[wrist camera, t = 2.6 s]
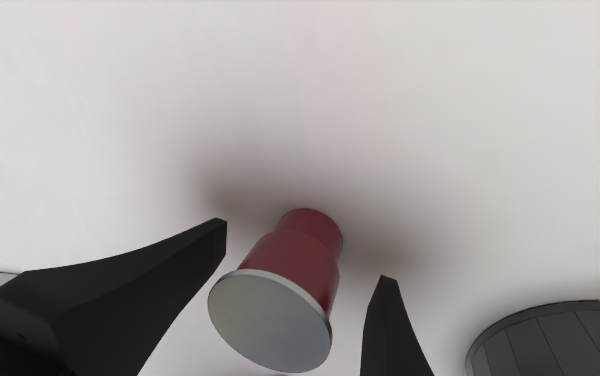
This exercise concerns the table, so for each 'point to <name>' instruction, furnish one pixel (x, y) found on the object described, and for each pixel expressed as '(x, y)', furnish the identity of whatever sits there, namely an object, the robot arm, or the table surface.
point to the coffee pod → (282, 295)
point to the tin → (541, 343)
